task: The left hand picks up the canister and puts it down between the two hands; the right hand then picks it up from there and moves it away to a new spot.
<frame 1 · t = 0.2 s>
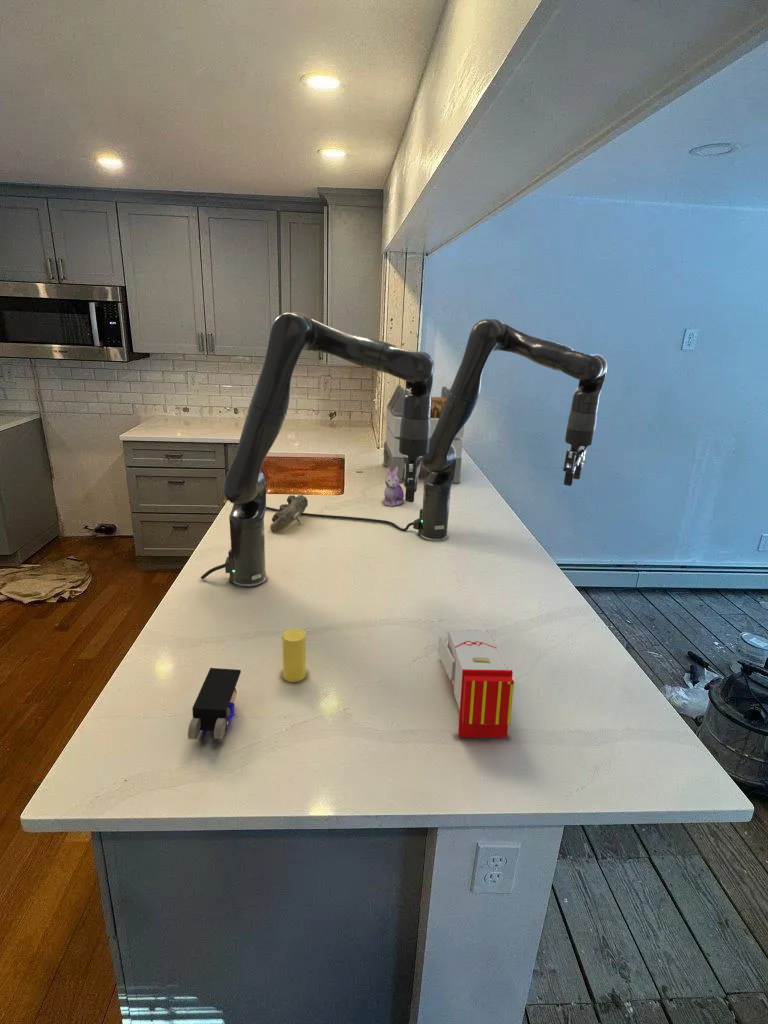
left hand: (410, 496, 147), 29 cm above the counter, tool pointing down, fingers open, 8 cm apart
right hand: (571, 481, 166), 29 cm above the counter, tool pointing down, fingers open, 8 cm apart
toy: (469, 691, 119), on the counter
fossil: (290, 523, 205), on the counter
canister: (294, 675, 121), on the counter
figurine: (393, 503, 231), on the counter
figurine character: (217, 723, 106), on the counter
grey slatted crate: (419, 473, 275), on the counter
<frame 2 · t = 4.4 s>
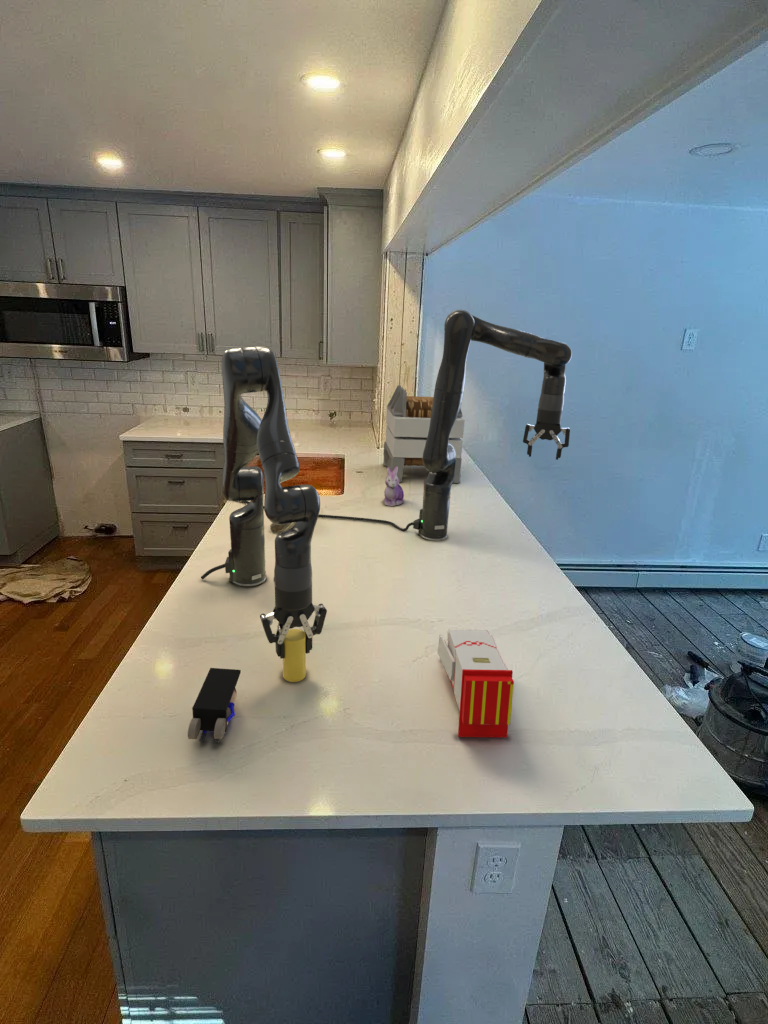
left hand: (294, 653, 120), 5 cm above the counter, tool pointing down, fingers closed on canister, 5 cm apart
right hand: (543, 457, 185), 31 cm above the counter, tool pointing down, fingers open, 8 cm apart
canister: (294, 675, 121), on the counter, touching left hand
everything else where it was.
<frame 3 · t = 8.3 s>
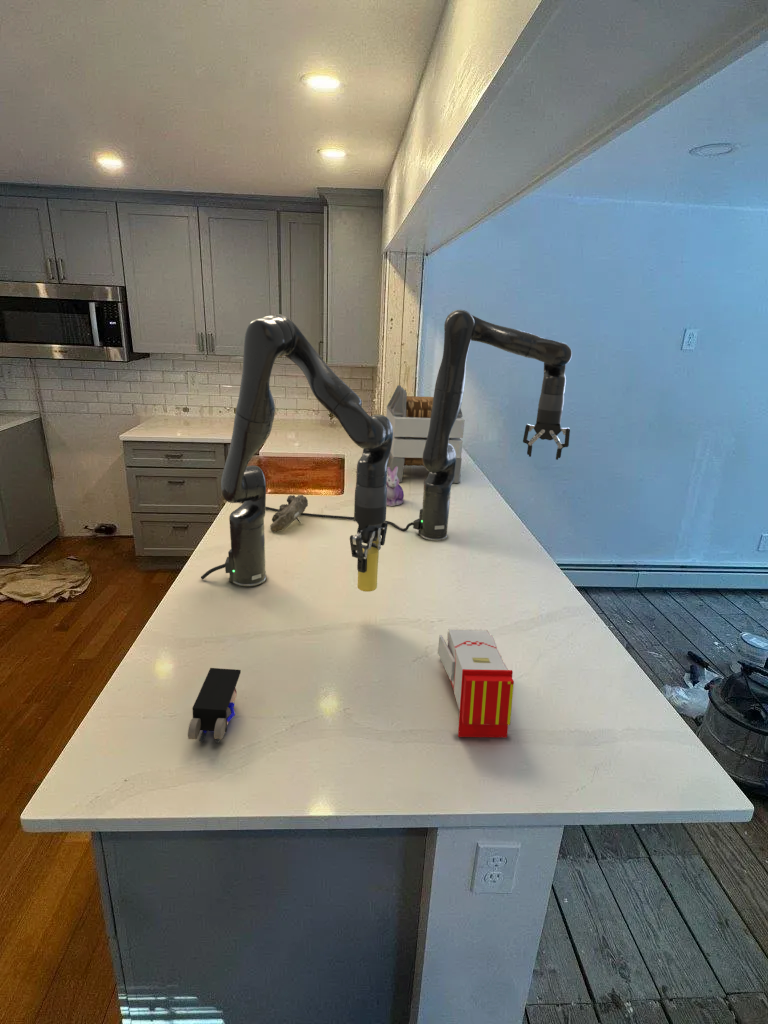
left hand: (367, 567, 138), 15 cm above the counter, tool pointing down, fingers closed on canister, 5 cm apart
right hand: (543, 457, 185), 31 cm above the counter, tool pointing down, fingers open, 8 cm apart
canister: (367, 587, 140), point 10 cm above the counter, touching left hand
everything else where it was.
when the left hand's fingers open (6 cm above the counter, at t = 12.2 s): canister drops 1 cm, on the counter.
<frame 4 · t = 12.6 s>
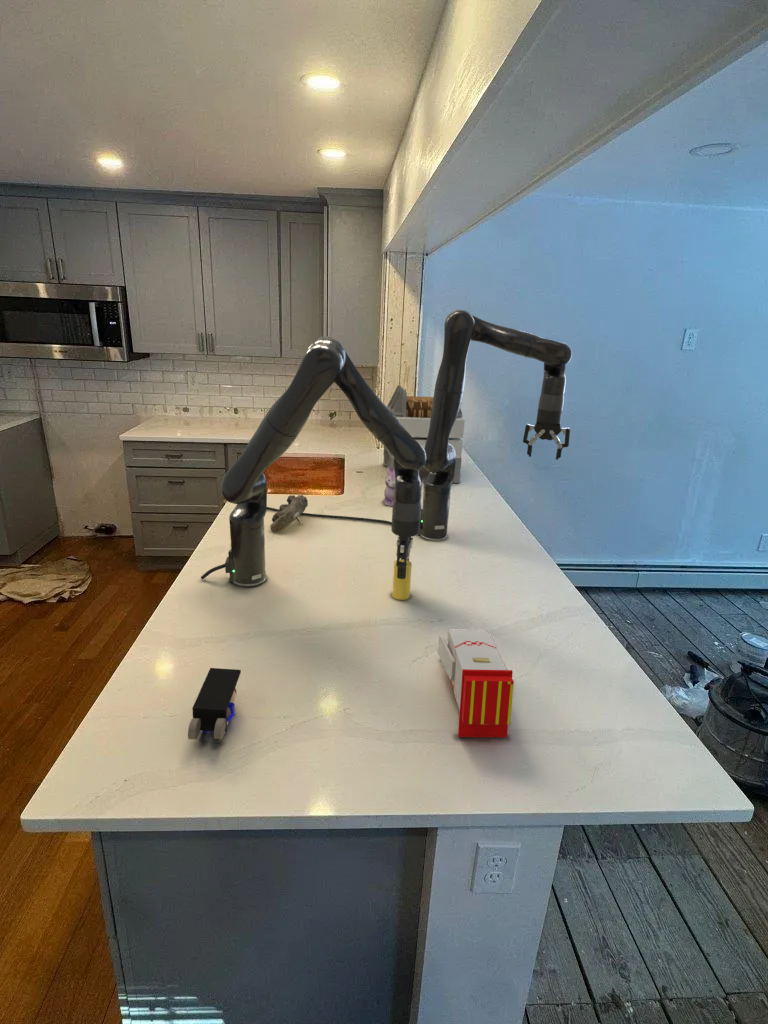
left hand: (403, 571, 154), 7 cm above the counter, tool pointing down, fingers open, 8 cm apart
right hand: (543, 457, 185), 31 cm above the counter, tool pointing down, fingers open, 8 cm apart
canister: (400, 595, 157), on the counter
everything else where it was.
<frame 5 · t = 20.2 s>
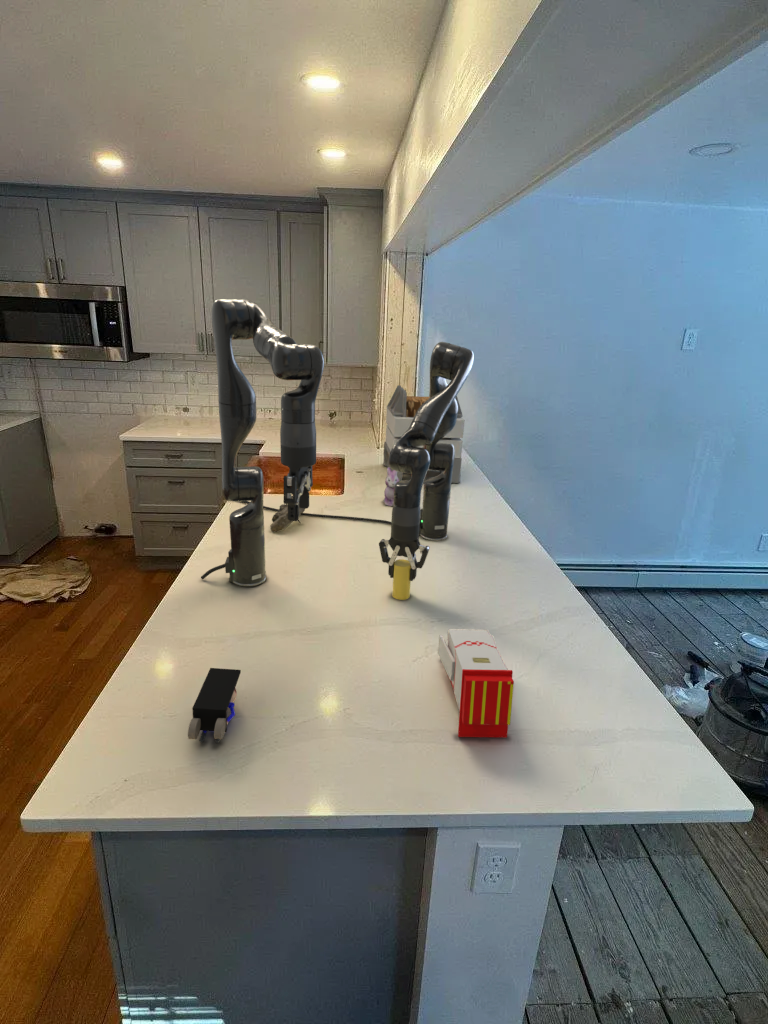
left hand: (299, 513, 125), 31 cm above the counter, tool pointing down, fingers open, 8 cm apart
right hand: (402, 578, 155), 5 cm above the counter, tool pointing down, fingers closed on canister, 5 cm apart
canister: (400, 595, 157), on the counter, touching right hand
everything else where it was.
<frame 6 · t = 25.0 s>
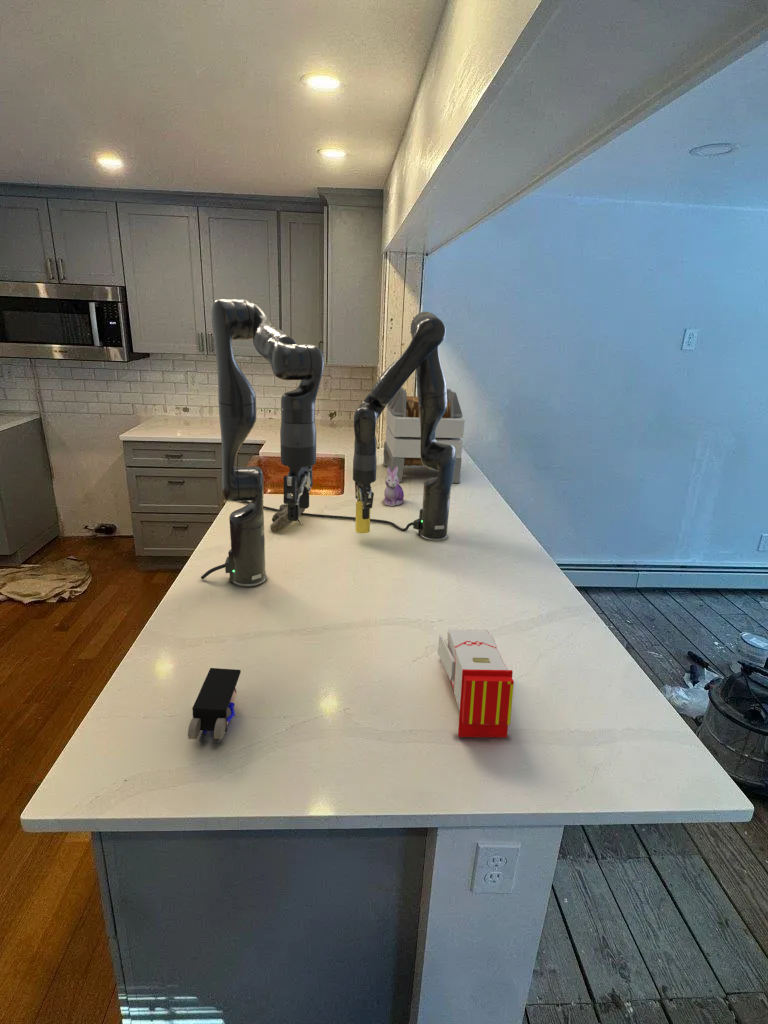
left hand: (299, 513, 125), 31 cm above the counter, tool pointing down, fingers open, 8 cm apart
right hand: (363, 515, 188), 10 cm above the counter, tool pointing down, fingers closed on canister, 5 cm apart
canister: (362, 530, 190), point 4 cm above the counter, touching right hand
everything else where it was.
when the right hand's fingers open (6 cm above the counter, at t = 29.8 s): canister drops 1 cm, on the counter.
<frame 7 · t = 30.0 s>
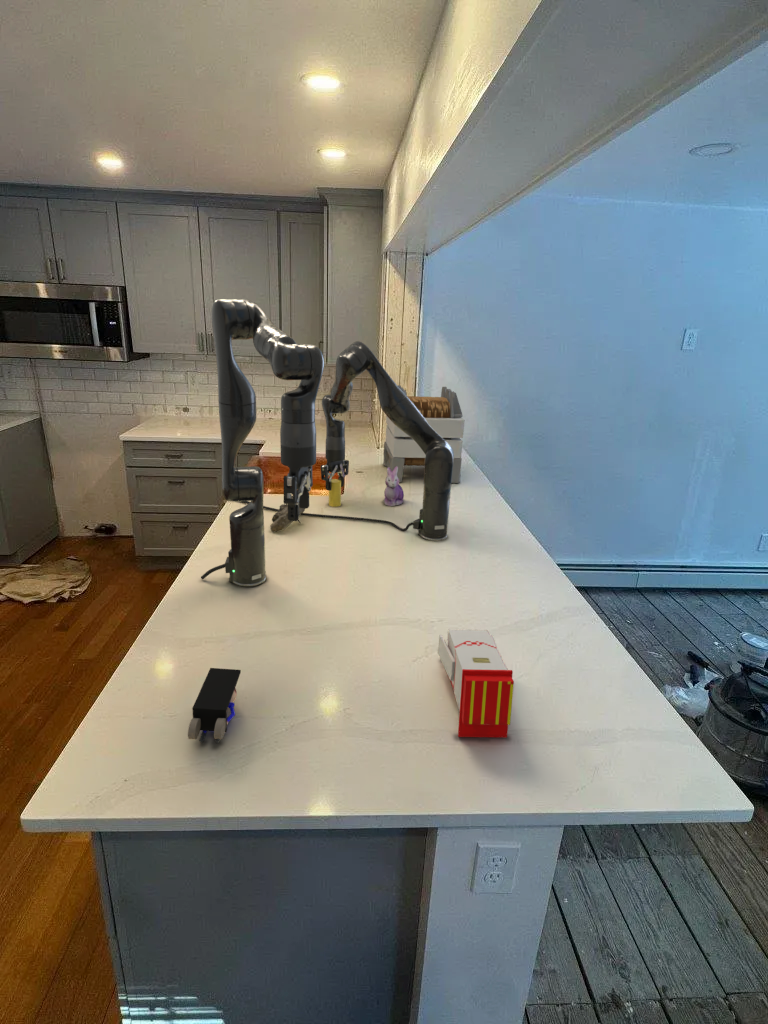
left hand: (299, 513, 125), 31 cm above the counter, tool pointing down, fingers open, 8 cm apart
right hand: (334, 488, 224), 7 cm above the counter, tool pointing down, fingers open, 6 cm apart
canister: (334, 504, 226), on the counter
everything else where it was.
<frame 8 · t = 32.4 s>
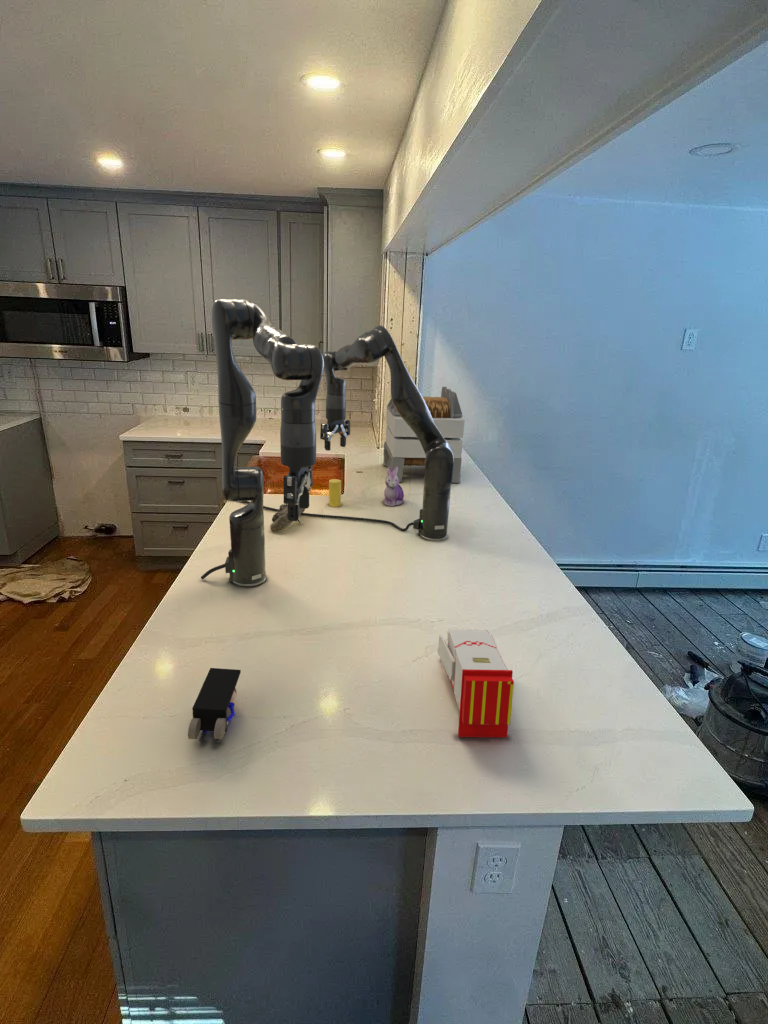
left hand: (299, 513, 125), 31 cm above the counter, tool pointing down, fingers open, 8 cm apart
right hand: (335, 448, 218), 23 cm above the counter, tool pointing down, fingers open, 8 cm apart
nothing on the counter moved.
at the end: canister inside the target area (0.1 cm from its centre), on the counter; canister tilted 0°; the two hands never held the canister at the same time; the left hand is holding nothing; the right hand is holding nothing; canister at rest at the end (0.0 cm/s) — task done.
